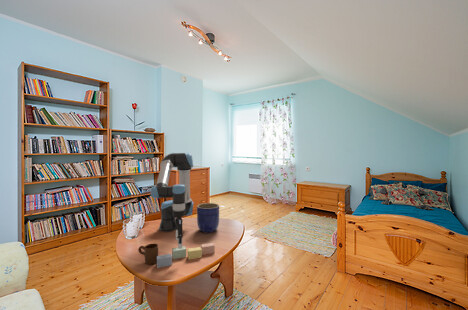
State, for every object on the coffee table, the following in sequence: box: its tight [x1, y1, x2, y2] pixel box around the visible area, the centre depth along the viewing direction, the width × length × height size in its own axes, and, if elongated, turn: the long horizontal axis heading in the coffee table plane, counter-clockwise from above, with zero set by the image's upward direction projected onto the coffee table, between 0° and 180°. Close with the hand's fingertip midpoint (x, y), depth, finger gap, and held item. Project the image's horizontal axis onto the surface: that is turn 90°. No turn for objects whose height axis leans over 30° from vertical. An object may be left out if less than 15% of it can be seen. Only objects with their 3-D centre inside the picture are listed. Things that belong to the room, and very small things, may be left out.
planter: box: [196, 202, 220, 234], centre depth 175 cm, size 18×18×21 cm
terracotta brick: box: [200, 242, 216, 256], centre depth 137 cm, size 8×4×5 cm, turn 110°
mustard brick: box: [187, 246, 203, 260], centre depth 131 cm, size 8×4×5 cm, turn 110°
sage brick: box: [171, 246, 187, 260], centre depth 132 cm, size 8×4×5 cm, turn 113°
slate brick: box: [156, 253, 173, 269], centre depth 122 cm, size 8×4×5 cm, turn 113°
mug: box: [138, 243, 159, 266], centre depth 125 cm, size 12×8×9 cm, turn 83°
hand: (179, 243), depth 131 cm, fingers open, 13 cm apart
